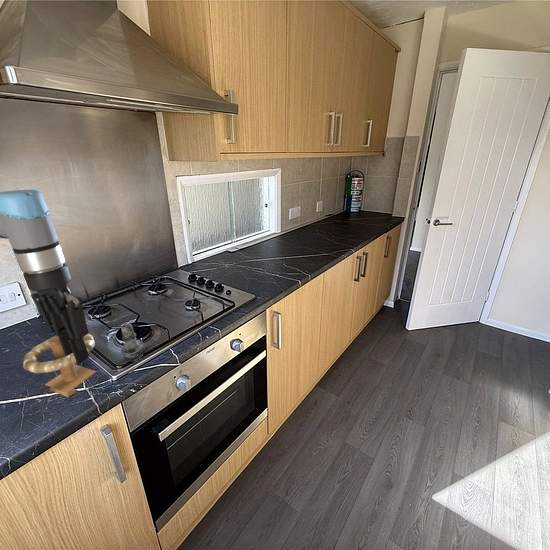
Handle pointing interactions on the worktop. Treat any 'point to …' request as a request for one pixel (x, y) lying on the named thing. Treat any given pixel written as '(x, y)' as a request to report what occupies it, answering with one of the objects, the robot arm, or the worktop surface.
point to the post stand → (66, 372)
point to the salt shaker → (131, 343)
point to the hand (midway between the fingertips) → (78, 358)
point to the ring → (50, 366)
